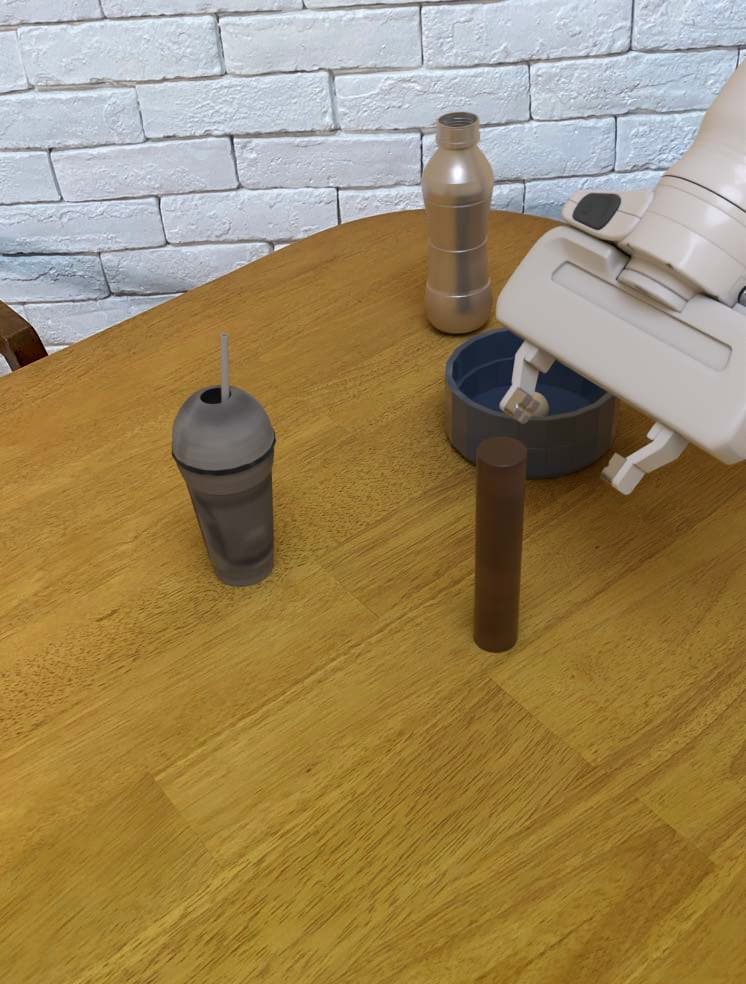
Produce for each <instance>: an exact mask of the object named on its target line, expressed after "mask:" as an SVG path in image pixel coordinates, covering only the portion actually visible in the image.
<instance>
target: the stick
mask: <svg viewBox="0 0 746 984" xmlns="http://www.w3.org/2000/svg"><path fill="white" fill-rule="evenodd" d="M526 463H527V449H526V447H525V446H524V445H523V443H521V442H520V441H518V440H516V439H513V438H510V437H493V438H489V439H487V440H485V441H483V442H482V443H481V444H480V445H479V446H478V448H477V452H476V465H475V520H474V521H475V523H474V525H475V527H474V528H475V530H474V538H475V539H474V592H473V593H474V594H473V595H474V596H473V597H474V598H473V639H474V643H476V645H477V646H478V647H479V648H480V649H482V650H484V651H487V652H489V653H504V652H506V651H509V650H511V649H512V648H513V647H514V646H515V645H516V644H517V642H518V636H519V620H520V619H519V617H520V598H521V597H520V596H521V581H522V580H521V577H522V559H523V542H524V541H523V540H524V539H523V538H524V537H523V536H524V518H525V499H526V480H527V479H526Z"/></svg>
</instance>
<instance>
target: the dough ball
mask: <svg viewBox="0 0 746 984" xmlns="http://www.w3.org/2000/svg"><path fill="white" fill-rule="evenodd" d="M532 398H534V399H535V400H537V401H538V402H540V405H539V406H538V408H537V409H536V411H535V412H533V413H531V416H548V413H549V405H548V402H547V400H546V399H545V397H544V396H543V395H541V394H540V393H538V392H534V396H533V397H532Z"/></svg>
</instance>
